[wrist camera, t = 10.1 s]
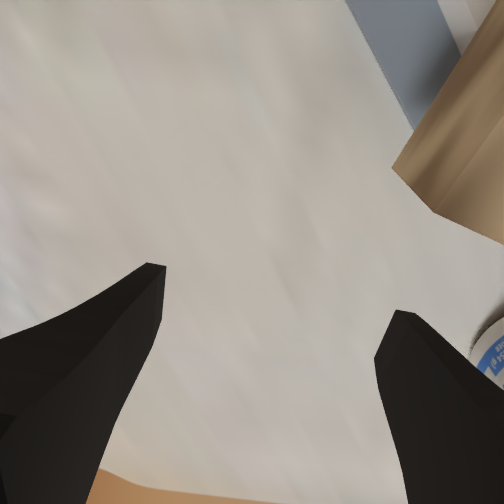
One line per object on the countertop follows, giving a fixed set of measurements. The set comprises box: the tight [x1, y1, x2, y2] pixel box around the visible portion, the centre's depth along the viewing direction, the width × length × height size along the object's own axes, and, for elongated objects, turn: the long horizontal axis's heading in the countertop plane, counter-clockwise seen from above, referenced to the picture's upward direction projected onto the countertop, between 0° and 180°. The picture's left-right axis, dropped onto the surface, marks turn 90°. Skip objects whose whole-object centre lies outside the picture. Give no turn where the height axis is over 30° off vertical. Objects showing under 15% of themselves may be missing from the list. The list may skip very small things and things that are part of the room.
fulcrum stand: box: [345, 0, 496, 131], centre depth 15 cm, size 10×8×3 cm
